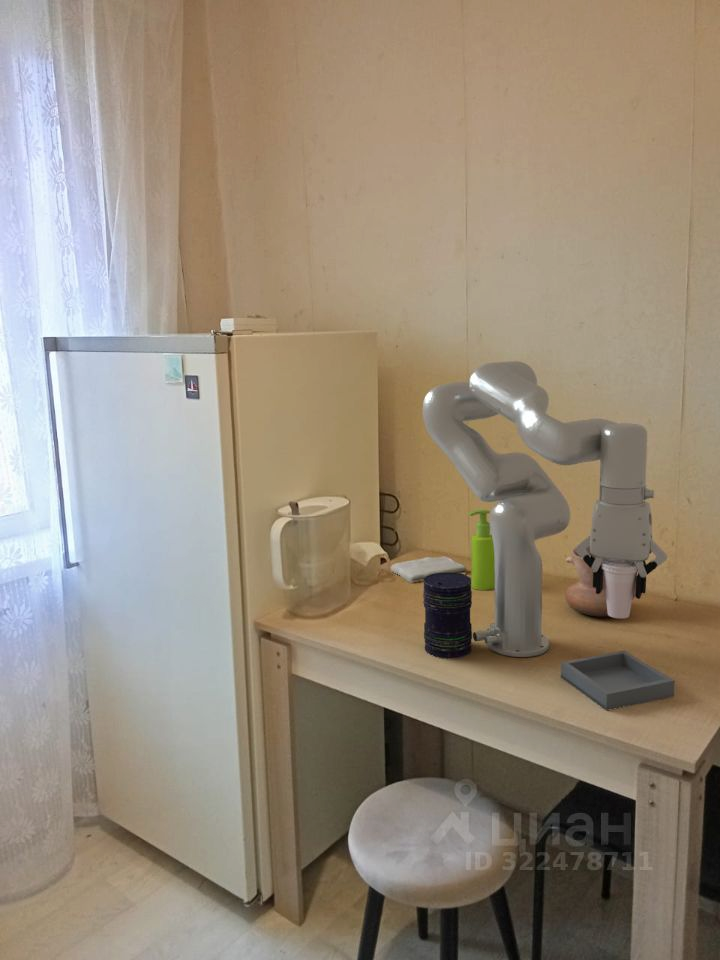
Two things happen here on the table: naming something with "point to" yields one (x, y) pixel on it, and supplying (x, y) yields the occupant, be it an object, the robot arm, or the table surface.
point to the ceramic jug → (586, 589)
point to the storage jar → (447, 615)
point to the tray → (617, 679)
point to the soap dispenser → (482, 554)
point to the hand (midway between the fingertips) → (618, 593)
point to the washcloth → (426, 568)
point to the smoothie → (619, 586)
